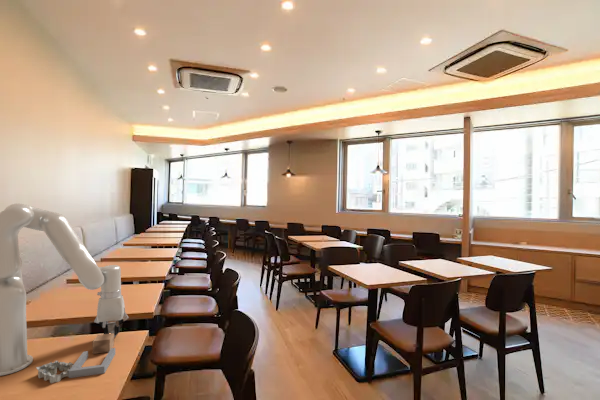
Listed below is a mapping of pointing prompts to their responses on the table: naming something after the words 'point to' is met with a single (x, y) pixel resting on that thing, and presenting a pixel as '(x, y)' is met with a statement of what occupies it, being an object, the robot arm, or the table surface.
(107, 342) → the tan block with knob
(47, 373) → the grey rough openwork block
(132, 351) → the table surface
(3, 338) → the robot arm
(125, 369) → the table surface
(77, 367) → the lane rack
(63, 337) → the table surface
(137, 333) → the table surface
